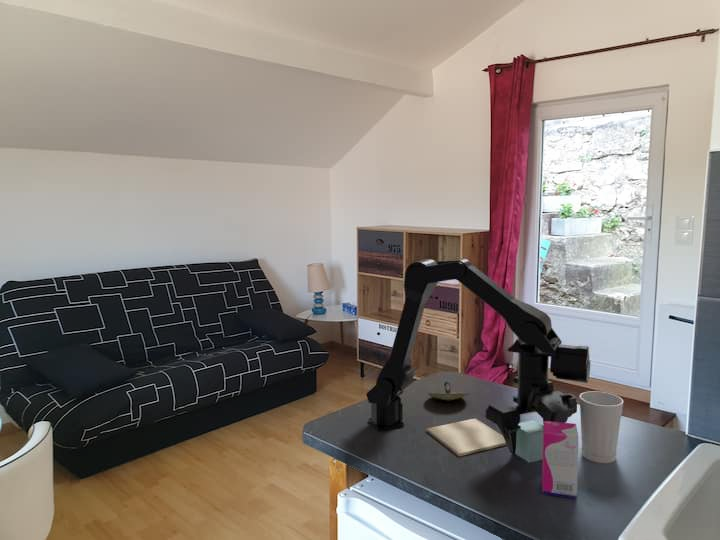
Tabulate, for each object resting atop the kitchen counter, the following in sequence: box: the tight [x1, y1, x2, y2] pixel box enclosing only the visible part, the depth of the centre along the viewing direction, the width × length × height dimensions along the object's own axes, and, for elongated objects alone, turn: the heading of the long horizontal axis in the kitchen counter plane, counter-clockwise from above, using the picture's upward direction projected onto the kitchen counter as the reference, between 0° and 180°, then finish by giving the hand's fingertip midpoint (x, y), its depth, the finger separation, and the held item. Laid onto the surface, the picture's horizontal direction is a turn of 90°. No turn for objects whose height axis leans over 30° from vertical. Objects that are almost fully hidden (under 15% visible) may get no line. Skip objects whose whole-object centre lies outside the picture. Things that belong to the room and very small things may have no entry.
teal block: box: [514, 419, 544, 463], centre depth 108 cm, size 5×5×6 cm
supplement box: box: [541, 421, 579, 500], centre depth 95 cm, size 6×6×12 cm
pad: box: [426, 417, 507, 457], centre depth 117 cm, size 13×13×1 cm
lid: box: [427, 381, 470, 402], centre depth 137 cm, size 11×10×5 cm
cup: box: [579, 390, 624, 464], centre depth 107 cm, size 8×8×12 cm
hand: (530, 448), depth 108 cm, fingers open, 9 cm apart
